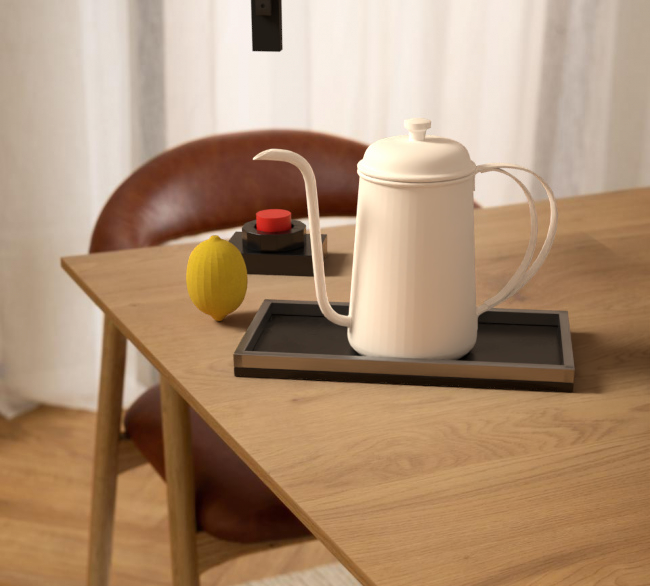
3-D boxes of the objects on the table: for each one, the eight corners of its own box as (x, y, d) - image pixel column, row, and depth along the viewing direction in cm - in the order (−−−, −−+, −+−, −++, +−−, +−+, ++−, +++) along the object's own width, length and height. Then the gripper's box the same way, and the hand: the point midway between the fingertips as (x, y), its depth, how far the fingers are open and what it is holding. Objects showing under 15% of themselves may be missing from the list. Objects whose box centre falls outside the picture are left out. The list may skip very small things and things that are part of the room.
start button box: (327, 254, 127) (327, 217, 125) (316, 277, 120) (316, 238, 118) (236, 251, 128) (234, 214, 127) (220, 273, 121) (218, 235, 120)
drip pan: (566, 331, 106) (567, 310, 105) (572, 392, 93) (574, 369, 92) (265, 319, 109) (264, 298, 108) (234, 376, 97) (232, 353, 96)
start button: (294, 226, 124) (293, 209, 123) (288, 235, 121) (287, 218, 120) (260, 224, 124) (259, 208, 124) (253, 234, 121) (253, 217, 120)
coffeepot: (250, 337, 103) (241, 113, 94) (523, 314, 107) (539, 99, 98) (271, 385, 93) (263, 141, 84) (569, 358, 98) (591, 124, 89)
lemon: (243, 308, 112) (240, 225, 108) (253, 328, 107) (250, 241, 103) (185, 313, 111) (180, 229, 107) (192, 333, 106) (186, 246, 102)
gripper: (233, -230, 110) (243, 40, 121) (201, -240, 98) (214, 59, 109) (313, -231, 109) (315, 41, 120) (290, -241, 97) (294, 61, 108)
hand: (267, 50), depth 114 cm, fingers closed
